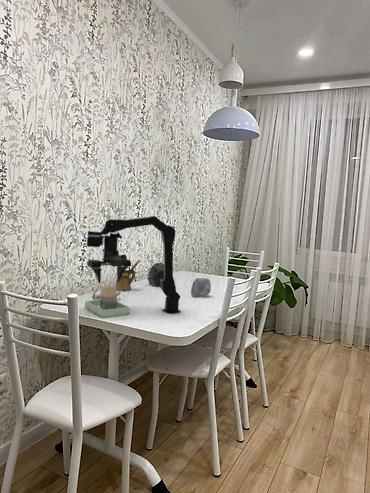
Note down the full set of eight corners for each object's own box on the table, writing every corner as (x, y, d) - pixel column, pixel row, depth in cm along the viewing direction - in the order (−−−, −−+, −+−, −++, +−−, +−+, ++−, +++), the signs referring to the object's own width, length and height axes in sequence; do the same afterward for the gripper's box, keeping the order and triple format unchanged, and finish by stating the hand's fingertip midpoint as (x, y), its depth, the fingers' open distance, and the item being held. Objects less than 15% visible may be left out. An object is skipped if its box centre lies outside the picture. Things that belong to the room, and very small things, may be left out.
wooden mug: (136, 292, 214) (138, 260, 212) (112, 290, 215) (114, 258, 213) (139, 289, 223) (141, 258, 221) (117, 287, 224) (118, 257, 222)
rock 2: (205, 295, 218) (206, 277, 217) (210, 297, 213) (211, 279, 212) (189, 296, 213) (190, 277, 212) (194, 298, 209) (195, 279, 208)
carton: (115, 296, 171) (115, 287, 170) (106, 297, 168) (106, 288, 168) (110, 294, 174) (111, 285, 174) (101, 295, 172) (101, 286, 171)
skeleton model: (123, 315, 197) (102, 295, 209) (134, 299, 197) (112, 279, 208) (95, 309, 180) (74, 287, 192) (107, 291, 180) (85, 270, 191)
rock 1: (170, 288, 231) (172, 264, 229) (147, 287, 229) (149, 263, 227) (168, 283, 247) (169, 260, 246) (146, 282, 245) (148, 259, 244)
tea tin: (116, 310, 171) (117, 296, 170) (105, 311, 168) (105, 297, 167) (110, 307, 175) (111, 294, 175) (99, 309, 172) (100, 295, 171)
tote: (129, 314, 168) (129, 307, 168) (101, 318, 160) (102, 310, 160) (110, 305, 182) (111, 298, 182) (84, 307, 174) (85, 301, 174)
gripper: (98, 249, 157) (97, 287, 158) (138, 249, 168) (136, 284, 170) (87, 246, 166) (86, 282, 167) (126, 246, 177) (124, 280, 179)
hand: (109, 282), depth 170 cm, fingers open, 9 cm apart
